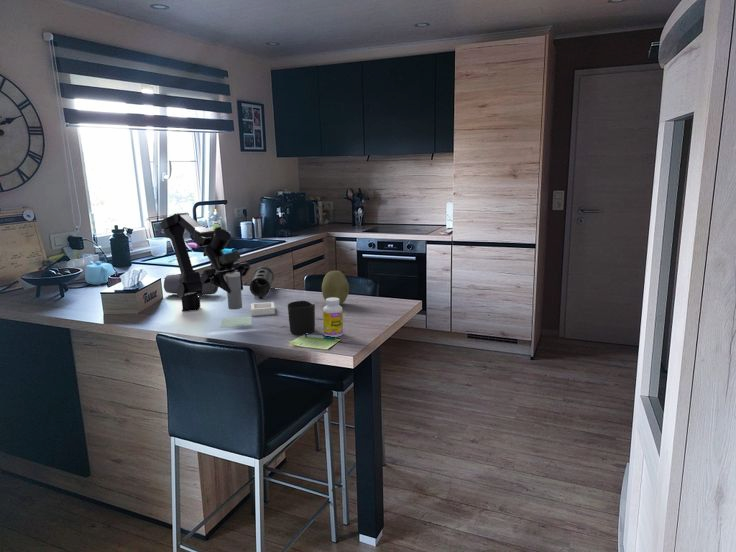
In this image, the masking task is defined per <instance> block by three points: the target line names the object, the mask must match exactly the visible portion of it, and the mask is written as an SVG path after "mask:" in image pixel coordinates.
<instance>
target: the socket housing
mask: <svg viewBox="0 0 736 552" xmlns="http://www.w3.org/2000/svg"><path fill="white" fill-rule="evenodd" d="M250 312H251V313H250V314H251V316H252V317H253V316H268V315H276V307H275V302H274V301H269V302H268V301H267V302H257V303H255V302H253V303H250ZM251 316H250V317H251Z"/></svg>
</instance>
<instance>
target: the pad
mask: <svg viewBox="0 0 736 552" xmlns="http://www.w3.org/2000/svg"><path fill="white" fill-rule="evenodd" d="M252 317H253V316H241V317H227V318H222V319H221V321H220V322H221V323H220V328H234V327H243V326H244V327H246V326H252Z"/></svg>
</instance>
